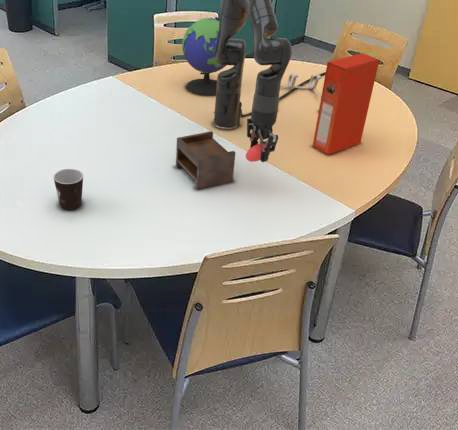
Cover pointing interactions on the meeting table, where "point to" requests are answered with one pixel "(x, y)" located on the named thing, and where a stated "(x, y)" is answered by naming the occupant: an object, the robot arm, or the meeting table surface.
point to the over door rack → (303, 87)
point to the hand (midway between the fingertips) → (258, 156)
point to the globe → (202, 54)
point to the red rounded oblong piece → (255, 153)
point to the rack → (205, 160)
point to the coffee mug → (69, 188)
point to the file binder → (344, 102)
